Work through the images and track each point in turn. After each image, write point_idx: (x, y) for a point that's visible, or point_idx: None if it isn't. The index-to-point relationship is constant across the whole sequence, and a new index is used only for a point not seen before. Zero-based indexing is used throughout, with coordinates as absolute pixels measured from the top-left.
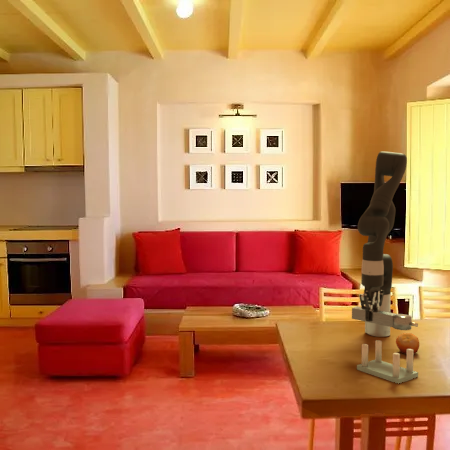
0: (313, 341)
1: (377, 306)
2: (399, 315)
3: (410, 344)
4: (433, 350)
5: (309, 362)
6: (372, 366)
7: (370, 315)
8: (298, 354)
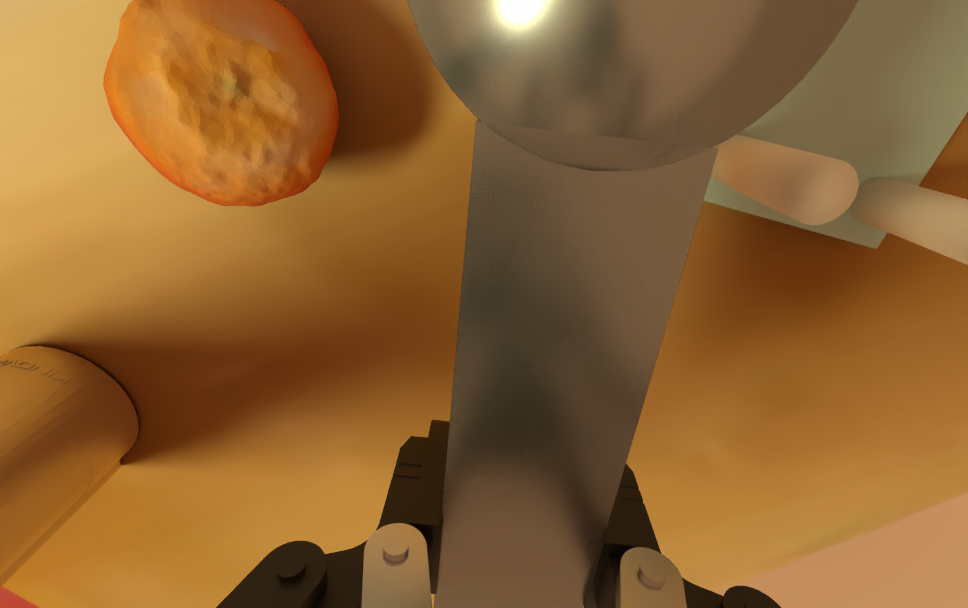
0: None
1: (424, 571)
2: (597, 26)
3: (289, 40)
4: None
5: (827, 477)
6: (868, 147)
7: (618, 498)
8: (718, 554)
